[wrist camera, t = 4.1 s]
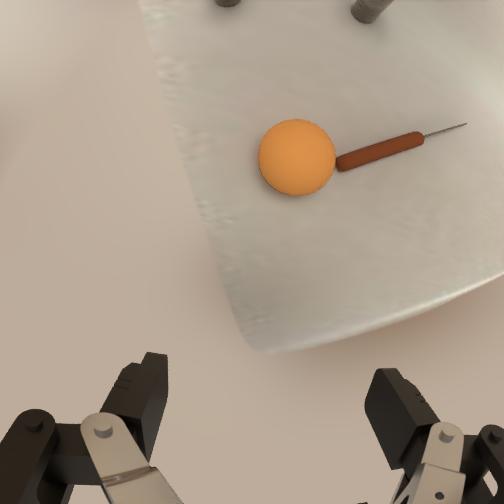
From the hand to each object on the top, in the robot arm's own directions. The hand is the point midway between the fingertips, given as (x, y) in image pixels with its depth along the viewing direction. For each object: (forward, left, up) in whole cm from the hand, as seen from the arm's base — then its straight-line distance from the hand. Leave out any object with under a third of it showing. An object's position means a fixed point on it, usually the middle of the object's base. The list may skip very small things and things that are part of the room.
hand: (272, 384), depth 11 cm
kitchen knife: (-14, -12, -19) cm, 26 cm away
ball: (-3, -9, -16) cm, 18 cm away
